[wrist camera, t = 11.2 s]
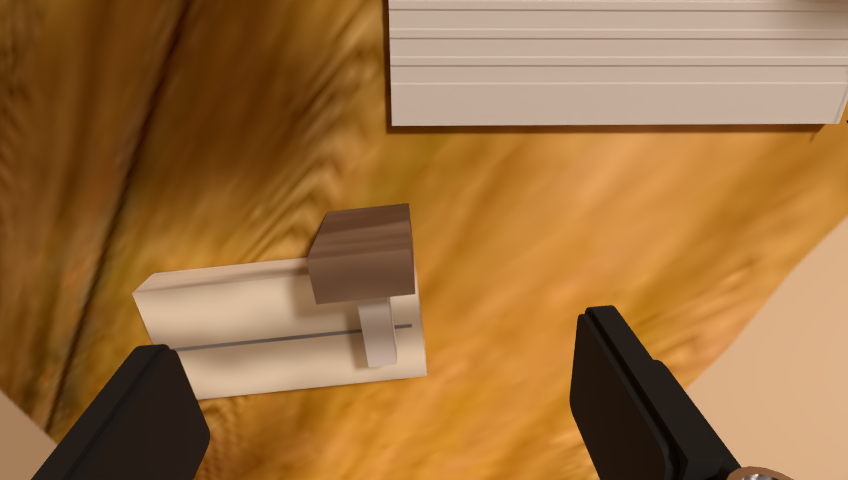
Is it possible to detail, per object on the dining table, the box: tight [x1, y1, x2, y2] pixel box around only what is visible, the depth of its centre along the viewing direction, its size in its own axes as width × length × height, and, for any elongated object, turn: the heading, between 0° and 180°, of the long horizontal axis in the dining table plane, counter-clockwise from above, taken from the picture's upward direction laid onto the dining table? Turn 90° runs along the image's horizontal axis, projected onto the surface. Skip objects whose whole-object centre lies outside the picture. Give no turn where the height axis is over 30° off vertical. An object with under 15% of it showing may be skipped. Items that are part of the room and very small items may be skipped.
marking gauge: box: [306, 203, 415, 367], centre depth 32 cm, size 10×6×8 cm, turn 6°
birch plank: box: [132, 248, 427, 400], centre depth 35 cm, size 10×20×3 cm, turn 96°
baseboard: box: [389, 0, 848, 126], centre depth 28 cm, size 31×3×12 cm
